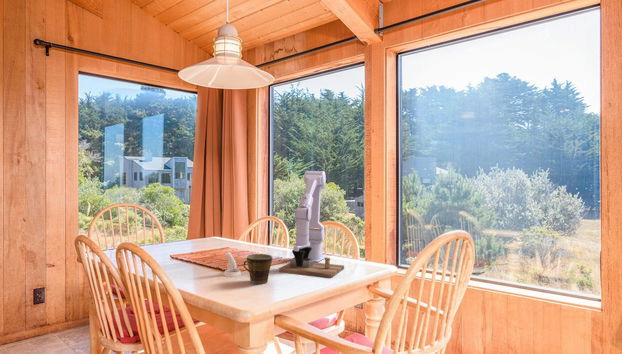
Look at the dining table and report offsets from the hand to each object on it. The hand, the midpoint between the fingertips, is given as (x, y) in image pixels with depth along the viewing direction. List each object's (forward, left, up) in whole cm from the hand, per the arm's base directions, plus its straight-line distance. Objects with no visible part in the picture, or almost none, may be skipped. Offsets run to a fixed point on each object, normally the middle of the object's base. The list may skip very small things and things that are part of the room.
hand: (301, 264), depth 180 cm
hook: (+22, -22, -2) cm, 31 cm away
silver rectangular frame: (0, 0, 0) cm, 0 cm away
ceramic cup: (+29, -7, -2) cm, 30 cm away
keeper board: (0, +5, -2) cm, 5 cm away
